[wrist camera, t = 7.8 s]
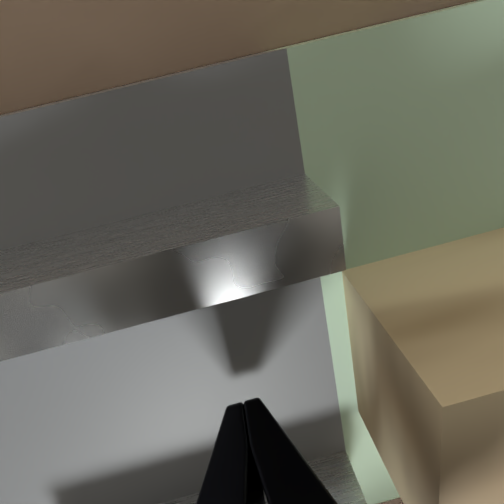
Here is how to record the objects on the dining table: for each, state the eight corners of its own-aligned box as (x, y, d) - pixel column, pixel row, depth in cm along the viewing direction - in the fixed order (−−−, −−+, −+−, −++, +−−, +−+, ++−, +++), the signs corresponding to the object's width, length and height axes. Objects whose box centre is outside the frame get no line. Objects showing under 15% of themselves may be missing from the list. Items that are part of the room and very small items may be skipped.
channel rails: (348, 473, 13) (375, 540, 11) (82, 548, 12) (64, 630, 10) (304, 173, 8) (339, 205, 6) (-138, 285, 7) (-241, 355, 6)
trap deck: (673, 351, 16) (748, 396, 14) (-62, 558, 15) (-104, 642, 13) (861, -92, 9) (1067, -139, 7) (-467, 226, 8) (-707, 286, 6)
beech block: (516, 366, 11) (663, 503, 8) (358, 411, 11) (436, 570, 8) (540, 217, 9) (765, 315, 6) (341, 270, 9) (442, 407, 5)
